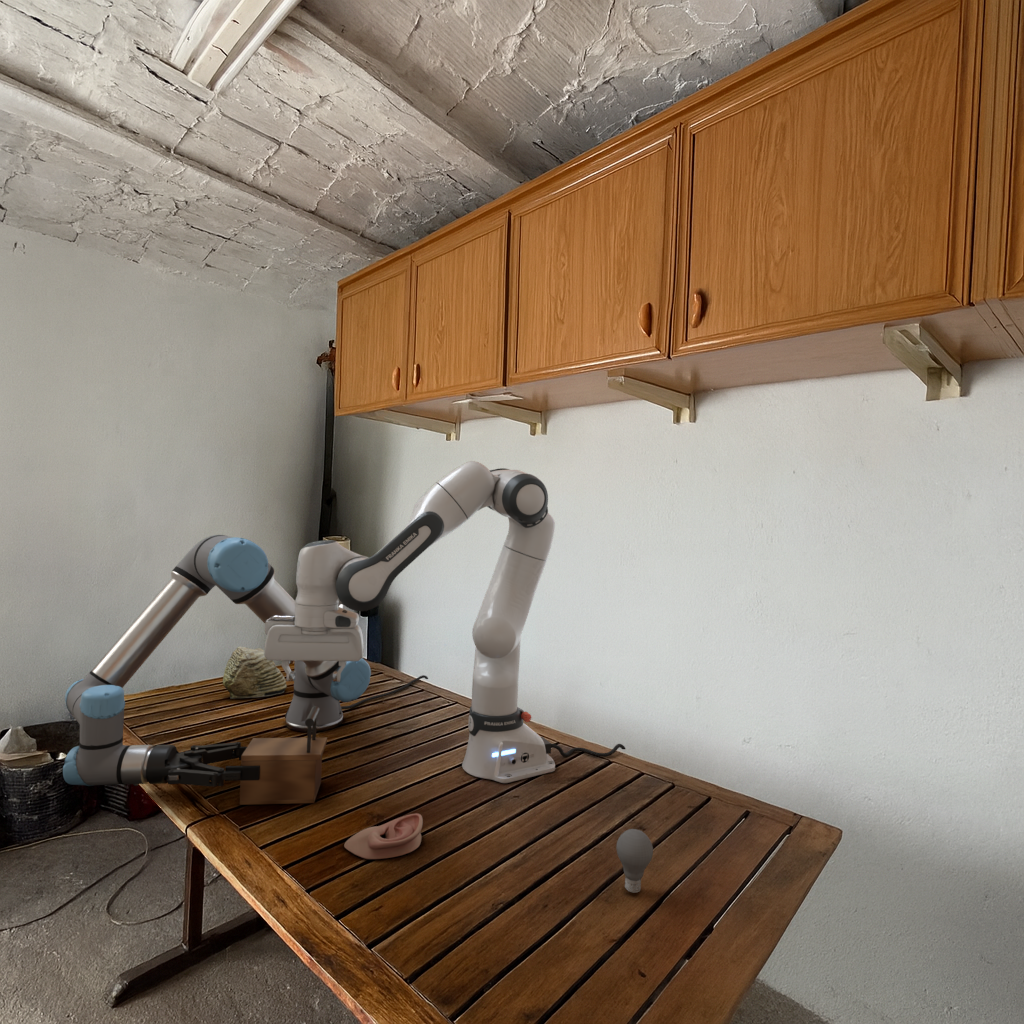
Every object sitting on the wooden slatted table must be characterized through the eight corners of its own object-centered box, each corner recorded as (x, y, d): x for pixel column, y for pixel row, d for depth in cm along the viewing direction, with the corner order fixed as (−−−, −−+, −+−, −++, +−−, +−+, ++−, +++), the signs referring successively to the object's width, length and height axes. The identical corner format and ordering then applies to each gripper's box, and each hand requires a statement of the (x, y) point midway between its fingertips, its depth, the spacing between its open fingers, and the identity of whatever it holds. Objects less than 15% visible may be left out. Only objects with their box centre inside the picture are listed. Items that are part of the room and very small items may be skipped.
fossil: (218, 695, 195) (220, 647, 195) (278, 685, 208) (279, 640, 207) (228, 703, 189) (230, 653, 188) (289, 692, 201) (290, 645, 201)
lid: (326, 742, 140) (328, 704, 140) (320, 760, 131) (322, 719, 131) (253, 743, 138) (254, 705, 138) (241, 761, 129) (242, 720, 128)
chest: (320, 782, 140) (322, 742, 140) (314, 803, 131) (315, 760, 131) (251, 784, 138) (253, 743, 138) (239, 804, 129) (241, 761, 129)
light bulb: (610, 879, 108) (613, 822, 108) (644, 879, 109) (647, 822, 109) (619, 902, 102) (622, 840, 102) (655, 901, 103) (658, 840, 103)
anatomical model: (336, 832, 112) (364, 802, 124) (336, 854, 112) (363, 822, 124) (407, 843, 110) (429, 812, 121) (406, 866, 110) (428, 832, 121)
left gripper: (171, 760, 142) (276, 758, 145) (126, 808, 120) (251, 805, 123) (172, 727, 141) (277, 726, 145) (128, 769, 120) (252, 766, 123)
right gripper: (261, 618, 130) (258, 684, 130) (363, 620, 133) (360, 685, 133) (268, 612, 136) (266, 676, 137) (365, 614, 139) (363, 676, 140)
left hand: (265, 762), depth 134 cm, fingers closed on chest, 9 cm apart
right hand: (313, 680), depth 135 cm, fingers open, 8 cm apart
